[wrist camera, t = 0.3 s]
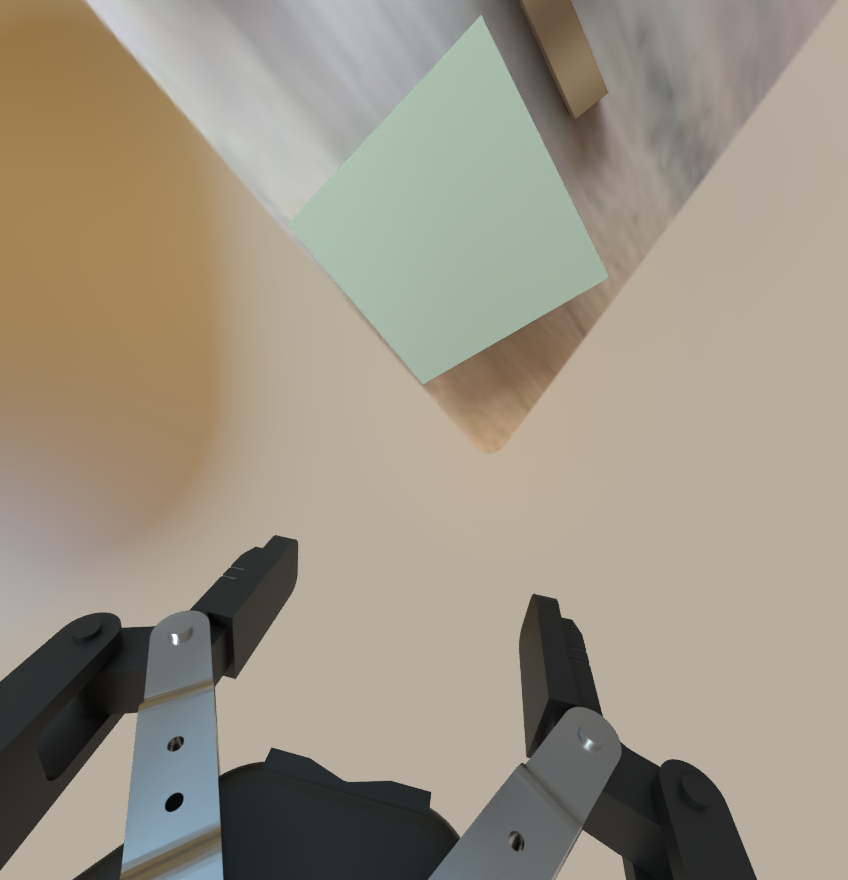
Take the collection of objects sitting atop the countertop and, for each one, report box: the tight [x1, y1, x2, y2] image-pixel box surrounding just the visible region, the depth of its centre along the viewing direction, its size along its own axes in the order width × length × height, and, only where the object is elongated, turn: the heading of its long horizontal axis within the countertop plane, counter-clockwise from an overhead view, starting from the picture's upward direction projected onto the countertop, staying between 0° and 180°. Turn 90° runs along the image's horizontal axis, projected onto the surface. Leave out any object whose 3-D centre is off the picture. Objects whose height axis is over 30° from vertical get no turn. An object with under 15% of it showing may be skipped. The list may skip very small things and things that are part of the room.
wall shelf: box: [287, 16, 609, 384], centre depth 30 cm, size 15×16×9 cm
